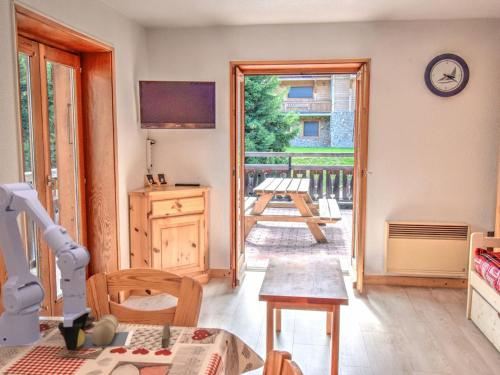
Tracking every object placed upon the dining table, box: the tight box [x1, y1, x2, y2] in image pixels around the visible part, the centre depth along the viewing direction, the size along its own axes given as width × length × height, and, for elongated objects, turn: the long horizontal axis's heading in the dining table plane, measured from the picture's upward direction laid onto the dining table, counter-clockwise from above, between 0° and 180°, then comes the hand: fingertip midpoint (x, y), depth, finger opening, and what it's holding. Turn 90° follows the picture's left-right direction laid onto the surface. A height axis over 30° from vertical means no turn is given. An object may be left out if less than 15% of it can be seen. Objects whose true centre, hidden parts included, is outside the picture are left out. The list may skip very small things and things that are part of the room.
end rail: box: [161, 322, 171, 349], centre depth 128 cm, size 2×12×2 cm, turn 8°
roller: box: [91, 313, 119, 346], centre depth 125 cm, size 6×9×6 cm, turn 8°
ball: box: [77, 329, 86, 347], centre depth 120 cm, size 5×5×5 cm
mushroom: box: [84, 312, 96, 332], centre depth 134 cm, size 8×8×6 cm
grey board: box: [76, 330, 134, 350], centre depth 125 cm, size 16×10×1 cm, turn 98°
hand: (75, 343), depth 120 cm, fingers open, 7 cm apart
